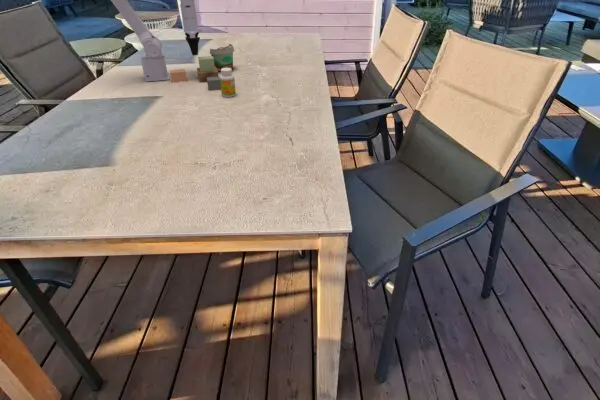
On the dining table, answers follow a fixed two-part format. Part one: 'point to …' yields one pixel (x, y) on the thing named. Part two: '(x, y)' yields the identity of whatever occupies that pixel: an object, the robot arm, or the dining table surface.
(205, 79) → the walnut block
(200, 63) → the sage brick
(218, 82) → the charcoal brick
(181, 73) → the terracotta brick
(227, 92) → the supplement bottle
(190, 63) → the dining table surface
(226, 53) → the food container
